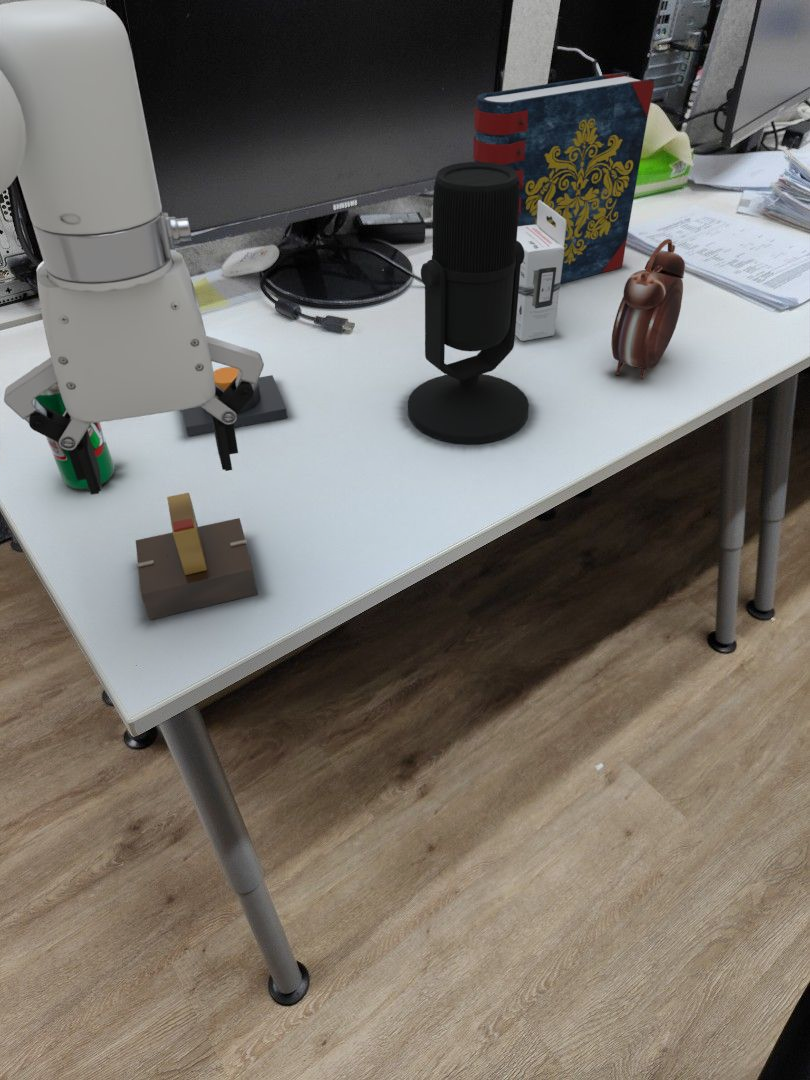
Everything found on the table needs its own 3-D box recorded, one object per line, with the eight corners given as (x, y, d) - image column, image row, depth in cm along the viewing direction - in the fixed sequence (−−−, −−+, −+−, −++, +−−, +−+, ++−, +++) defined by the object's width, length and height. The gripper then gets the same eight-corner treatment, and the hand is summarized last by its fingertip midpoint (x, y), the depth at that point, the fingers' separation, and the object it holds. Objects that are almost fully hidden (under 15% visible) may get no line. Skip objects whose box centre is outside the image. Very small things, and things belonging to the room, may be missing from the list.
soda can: (61, 470, 79) (20, 366, 71) (111, 457, 80) (77, 353, 72) (67, 497, 75) (24, 391, 67) (119, 484, 77) (84, 377, 69)
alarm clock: (636, 344, 97) (659, 223, 87) (673, 354, 95) (702, 231, 85) (601, 381, 90) (622, 254, 80) (640, 392, 88) (667, 264, 78)
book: (484, 306, 106) (495, 105, 89) (458, 288, 111) (463, 94, 94) (624, 269, 115) (658, 79, 98) (595, 253, 119) (622, 70, 103)
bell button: (215, 399, 84) (212, 385, 82) (210, 383, 86) (207, 369, 85) (247, 393, 84) (245, 379, 83) (242, 378, 87) (240, 364, 86)
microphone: (484, 369, 93) (496, 145, 76) (553, 421, 84) (583, 180, 67) (386, 399, 88) (376, 167, 71) (448, 458, 79) (453, 208, 62)
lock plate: (148, 620, 63) (138, 593, 61) (142, 565, 68) (133, 538, 66) (259, 594, 65) (253, 567, 63) (245, 542, 70) (240, 515, 68)
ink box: (495, 314, 104) (502, 202, 94) (528, 309, 105) (539, 197, 95) (520, 342, 98) (531, 225, 88) (556, 336, 99) (570, 220, 89)
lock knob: (178, 537, 66) (166, 494, 63) (199, 532, 66) (188, 489, 63) (185, 575, 62) (172, 531, 59) (207, 570, 63) (195, 526, 59)
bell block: (188, 436, 83) (182, 412, 81) (180, 400, 89) (174, 377, 87) (287, 417, 85) (284, 394, 83) (273, 383, 91) (270, 361, 89)
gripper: (237, 213, 52) (265, 428, 63) (-40, 240, 48) (43, 465, 59) (255, 251, 46) (283, 479, 58) (-55, 285, 42) (39, 523, 53)
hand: (161, 472), depth 58 cm, fingers open, 9 cm apart
